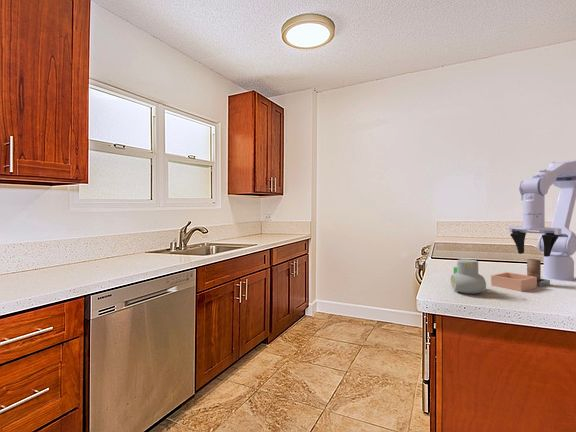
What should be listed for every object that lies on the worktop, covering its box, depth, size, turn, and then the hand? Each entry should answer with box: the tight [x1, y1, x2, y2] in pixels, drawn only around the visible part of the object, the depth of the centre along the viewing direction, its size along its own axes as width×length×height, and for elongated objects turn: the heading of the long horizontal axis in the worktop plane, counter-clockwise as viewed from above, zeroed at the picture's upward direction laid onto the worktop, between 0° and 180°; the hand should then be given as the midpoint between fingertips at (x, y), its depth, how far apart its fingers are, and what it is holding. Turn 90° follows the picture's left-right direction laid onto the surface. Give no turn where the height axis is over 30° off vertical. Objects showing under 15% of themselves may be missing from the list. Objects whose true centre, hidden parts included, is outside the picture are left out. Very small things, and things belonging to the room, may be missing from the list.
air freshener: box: [450, 258, 487, 295], centre depth 102 cm, size 11×8×10 cm
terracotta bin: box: [490, 271, 538, 293], centre depth 105 cm, size 9×9×4 cm
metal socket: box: [537, 278, 551, 288], centre depth 108 cm, size 6×6×2 cm
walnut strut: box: [526, 258, 542, 282], centre depth 108 cm, size 4×4×8 cm
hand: (533, 254), depth 108 cm, fingers open, 7 cm apart
